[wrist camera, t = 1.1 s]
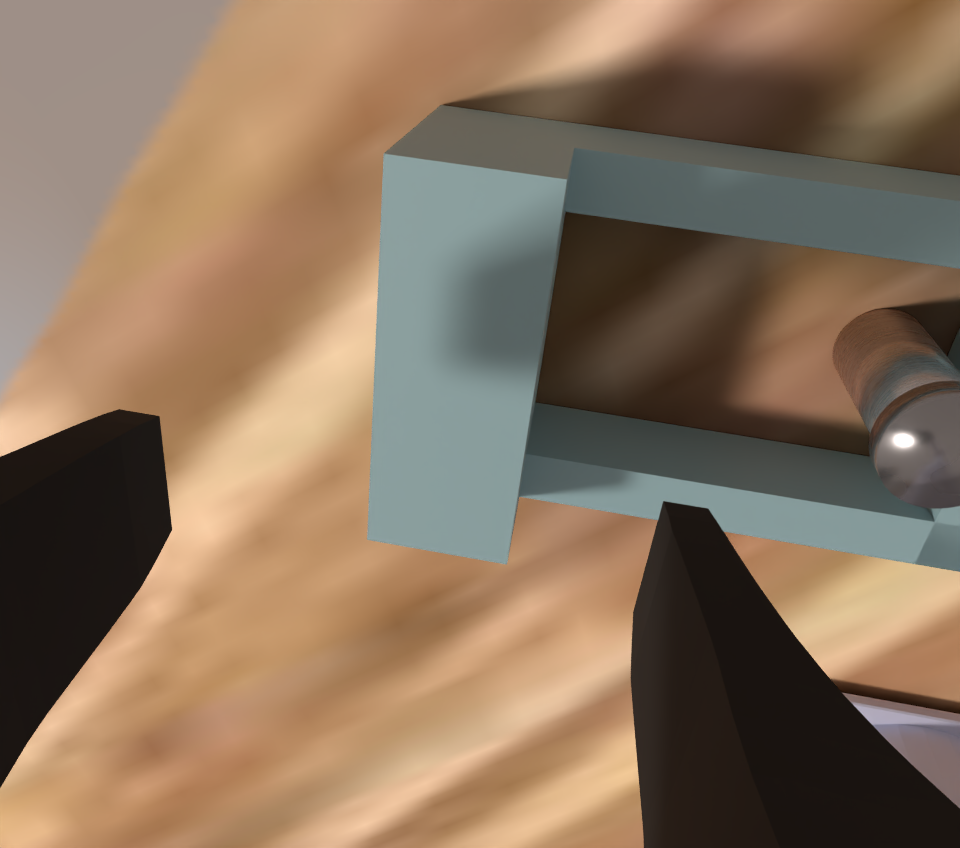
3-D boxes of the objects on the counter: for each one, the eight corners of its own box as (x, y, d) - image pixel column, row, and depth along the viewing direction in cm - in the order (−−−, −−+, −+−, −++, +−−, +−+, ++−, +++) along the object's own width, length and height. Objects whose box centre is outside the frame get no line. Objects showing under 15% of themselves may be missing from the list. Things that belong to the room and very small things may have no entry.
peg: (952, 309, 18) (1046, 407, 14) (913, 403, 19) (988, 517, 15) (842, 293, 18) (904, 385, 14) (809, 387, 20) (858, 497, 16)
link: (1083, 192, 17) (1245, 275, 12) (932, 509, 21) (1014, 653, 16) (440, 104, 18) (383, 153, 13) (416, 423, 22) (367, 539, 17)
